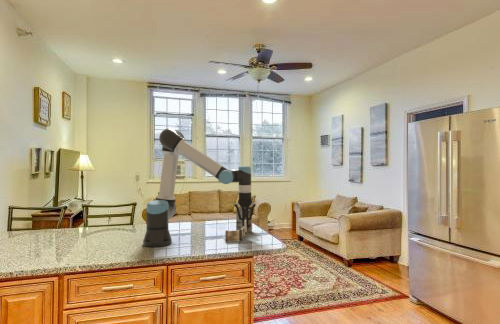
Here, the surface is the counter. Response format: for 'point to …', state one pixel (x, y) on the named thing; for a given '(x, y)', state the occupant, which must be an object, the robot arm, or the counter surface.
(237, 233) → the fence fixed section
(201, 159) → the robot arm
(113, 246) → the counter surface
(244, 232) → the fence gate
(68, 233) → the counter surface
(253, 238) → the card
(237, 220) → the coffee box
